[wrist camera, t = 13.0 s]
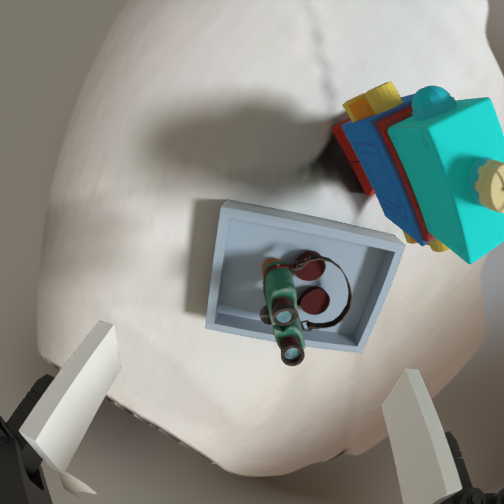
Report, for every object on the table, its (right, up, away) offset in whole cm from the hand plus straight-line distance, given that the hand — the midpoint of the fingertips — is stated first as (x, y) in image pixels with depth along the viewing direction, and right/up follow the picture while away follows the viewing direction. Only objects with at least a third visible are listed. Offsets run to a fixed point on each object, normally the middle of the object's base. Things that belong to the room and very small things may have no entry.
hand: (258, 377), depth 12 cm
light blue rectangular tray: (+6, +2, +23) cm, 24 cm away
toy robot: (+12, +16, +17) cm, 27 cm away
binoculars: (+6, +2, +22) cm, 23 cm away
